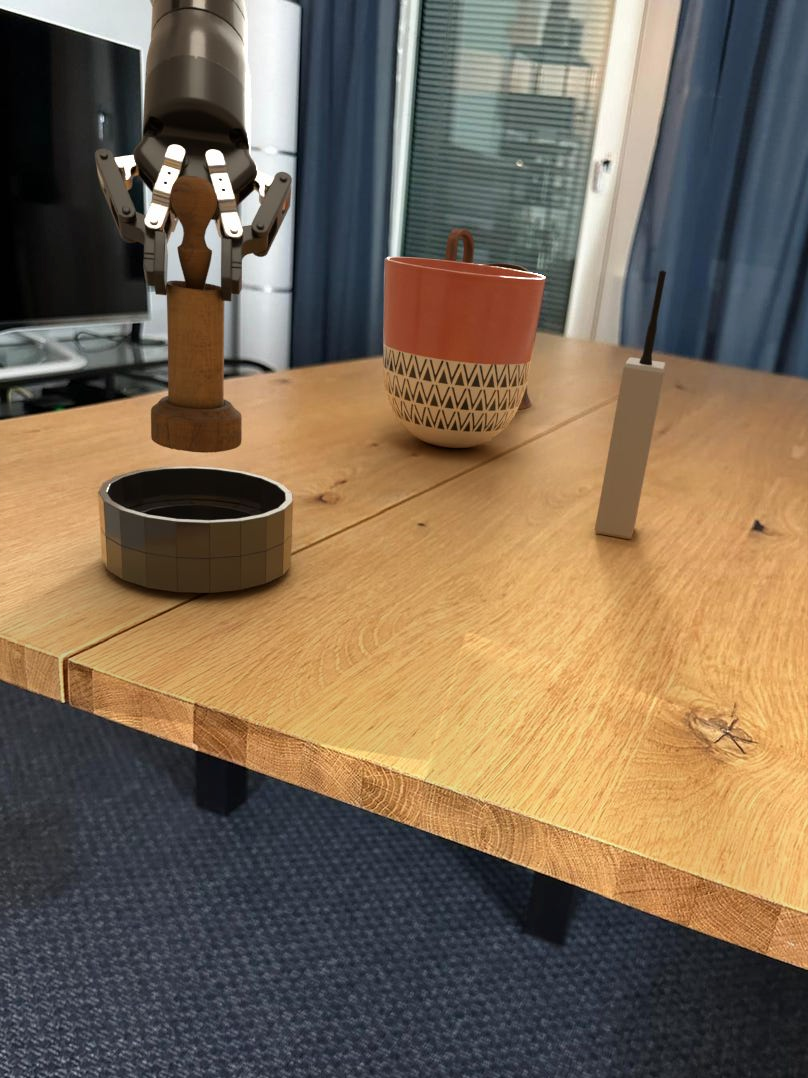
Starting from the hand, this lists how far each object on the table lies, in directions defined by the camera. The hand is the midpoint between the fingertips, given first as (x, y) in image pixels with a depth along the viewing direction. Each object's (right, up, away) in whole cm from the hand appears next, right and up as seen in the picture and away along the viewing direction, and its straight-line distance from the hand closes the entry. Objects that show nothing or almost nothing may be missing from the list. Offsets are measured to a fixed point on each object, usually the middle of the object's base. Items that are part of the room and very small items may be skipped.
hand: (193, 289), depth 63 cm
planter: (+15, +1, +57) cm, 59 cm away
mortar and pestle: (-2, -9, +6) cm, 11 cm away
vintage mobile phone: (+33, -13, +32) cm, 48 cm away
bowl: (-3, -18, +10) cm, 21 cm away
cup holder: (+18, +15, +86) cm, 89 cm away
